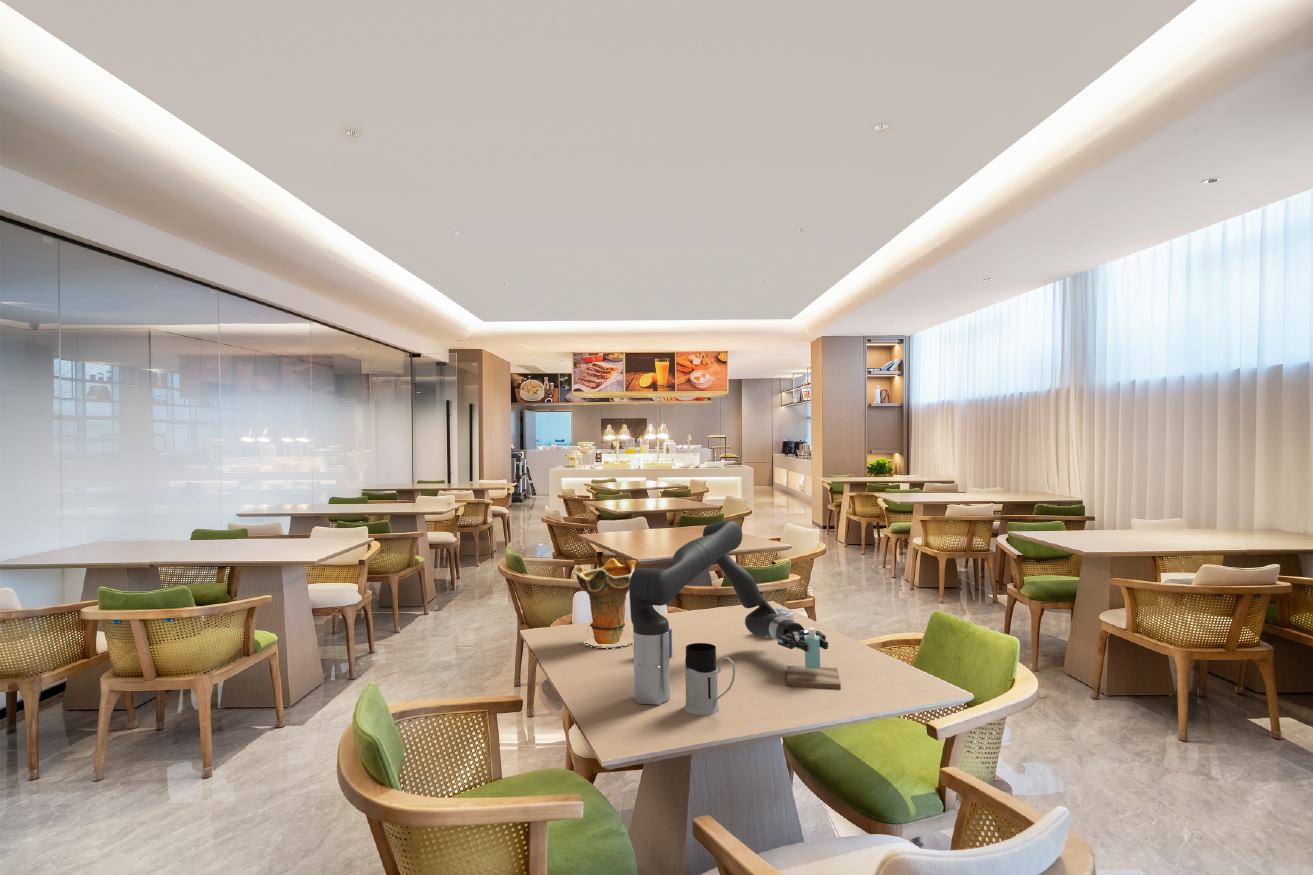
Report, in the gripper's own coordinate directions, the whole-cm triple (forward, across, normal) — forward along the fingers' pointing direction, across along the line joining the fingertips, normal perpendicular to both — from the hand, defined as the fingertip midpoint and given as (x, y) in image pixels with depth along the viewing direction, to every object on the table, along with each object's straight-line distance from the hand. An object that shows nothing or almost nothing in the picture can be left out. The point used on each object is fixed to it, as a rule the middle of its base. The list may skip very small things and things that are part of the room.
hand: (817, 646), depth 181 cm
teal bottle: (-3, 0, +6) cm, 7 cm away
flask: (-38, -34, +10) cm, 52 cm away
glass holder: (+9, -36, +10) cm, 38 cm away
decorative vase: (-60, -44, +10) cm, 75 cm away
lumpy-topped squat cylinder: (-49, +14, +10) cm, 52 cm away
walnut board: (-2, 0, +10) cm, 10 cm away
